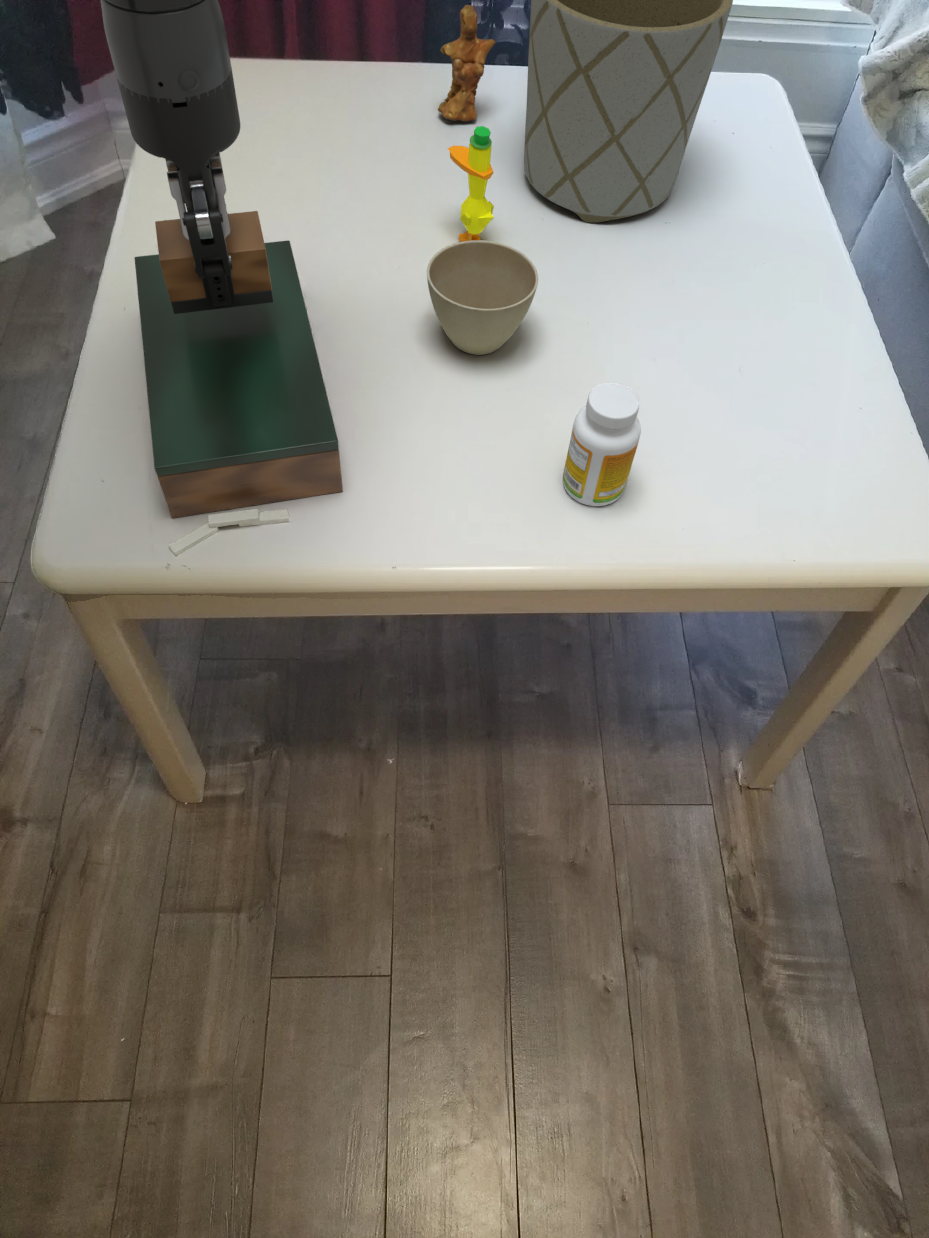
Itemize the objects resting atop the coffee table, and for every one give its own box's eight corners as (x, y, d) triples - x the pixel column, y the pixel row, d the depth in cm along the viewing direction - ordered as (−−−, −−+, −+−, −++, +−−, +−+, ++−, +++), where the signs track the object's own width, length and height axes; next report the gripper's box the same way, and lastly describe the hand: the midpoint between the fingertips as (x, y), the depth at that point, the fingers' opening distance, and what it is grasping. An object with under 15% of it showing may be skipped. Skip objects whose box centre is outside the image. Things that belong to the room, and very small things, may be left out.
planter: (716, 199, 102) (776, 1, 86) (583, 252, 96) (620, 50, 79) (609, 118, 110) (644, -77, 94) (480, 162, 104) (493, -39, 87)
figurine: (479, 133, 107) (486, 21, 97) (432, 123, 108) (435, 11, 98) (490, 114, 110) (498, 3, 100) (445, 104, 110) (448, -7, 100)
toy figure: (435, 230, 97) (438, 116, 86) (460, 218, 98) (466, 104, 88) (478, 262, 94) (486, 148, 84) (503, 248, 95) (514, 135, 85)
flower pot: (510, 385, 84) (517, 322, 78) (409, 355, 86) (409, 291, 80) (542, 319, 90) (552, 256, 84) (447, 293, 91) (450, 228, 85)
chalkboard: (171, 518, 74) (154, 468, 69) (150, 311, 87) (134, 256, 82) (342, 491, 76) (338, 441, 71) (296, 294, 90) (289, 239, 85)
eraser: (266, 264, 77) (257, 210, 73) (274, 302, 75) (265, 248, 70) (169, 275, 76) (154, 221, 72) (173, 314, 73) (159, 260, 69)
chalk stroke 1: (168, 545, 72) (169, 549, 72) (174, 553, 72) (176, 557, 72) (211, 520, 74) (212, 524, 74) (218, 527, 73) (219, 531, 74)
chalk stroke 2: (207, 514, 73) (208, 518, 74) (208, 524, 73) (209, 528, 73) (258, 508, 74) (259, 512, 74) (258, 517, 73) (259, 521, 74)
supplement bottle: (630, 470, 79) (656, 386, 71) (616, 515, 76) (640, 432, 68) (571, 453, 80) (589, 368, 72) (554, 497, 77) (571, 413, 69)
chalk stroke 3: (238, 513, 74) (239, 517, 74) (238, 523, 74) (239, 527, 74) (287, 508, 75) (288, 512, 75) (288, 518, 74) (289, 522, 74)
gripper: (109, 16, 63) (165, 235, 78) (119, 127, 56) (178, 347, 70) (219, 9, 65) (254, 225, 79) (242, 117, 57) (276, 334, 72)
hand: (218, 282), depth 75 cm, fingers closed on eraser, 5 cm apart
